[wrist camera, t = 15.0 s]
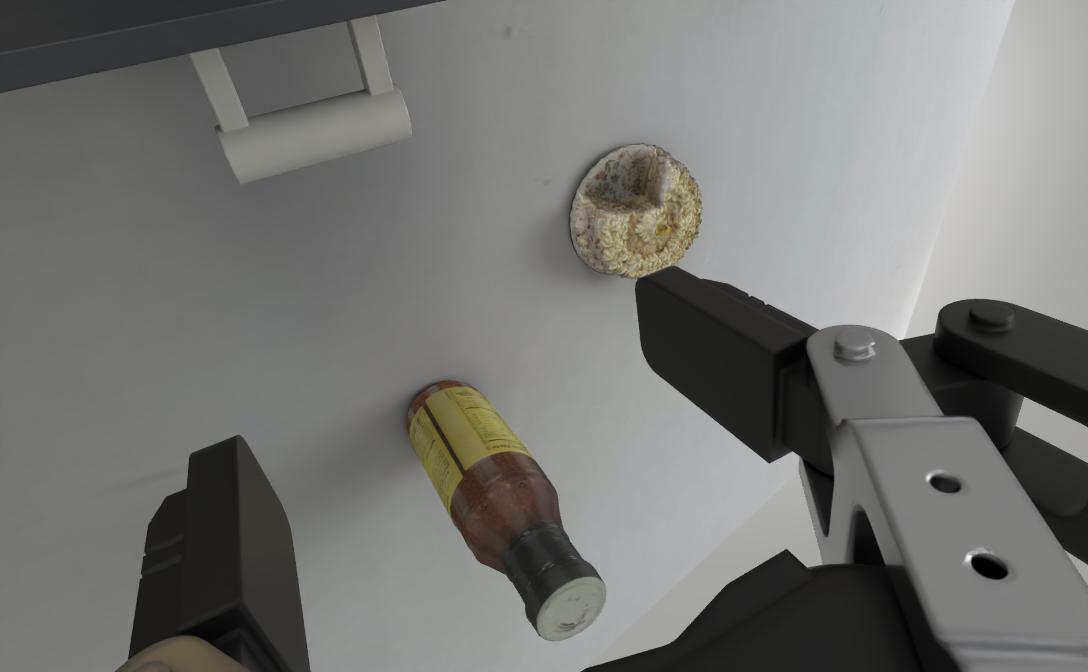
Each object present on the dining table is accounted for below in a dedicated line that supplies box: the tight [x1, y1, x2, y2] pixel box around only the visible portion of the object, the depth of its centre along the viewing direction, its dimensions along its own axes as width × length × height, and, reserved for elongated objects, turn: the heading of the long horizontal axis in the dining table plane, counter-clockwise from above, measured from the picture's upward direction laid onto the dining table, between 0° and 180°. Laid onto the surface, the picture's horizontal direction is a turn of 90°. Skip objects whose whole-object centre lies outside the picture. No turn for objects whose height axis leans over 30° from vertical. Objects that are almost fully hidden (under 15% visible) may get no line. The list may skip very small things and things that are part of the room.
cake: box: [570, 143, 703, 279], centre depth 43 cm, size 10×10×5 cm
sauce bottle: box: [406, 381, 606, 641], centre depth 37 cm, size 6×6×20 cm
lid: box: [0, 0, 445, 184], centre depth 21 cm, size 16×14×4 cm
